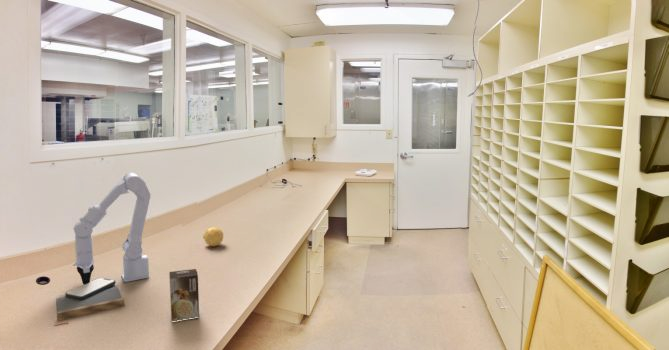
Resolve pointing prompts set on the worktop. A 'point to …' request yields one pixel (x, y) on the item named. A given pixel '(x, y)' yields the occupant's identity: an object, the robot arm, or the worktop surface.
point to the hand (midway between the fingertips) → (86, 283)
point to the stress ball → (213, 236)
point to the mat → (88, 299)
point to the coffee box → (184, 294)
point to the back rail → (90, 308)
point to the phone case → (90, 288)
